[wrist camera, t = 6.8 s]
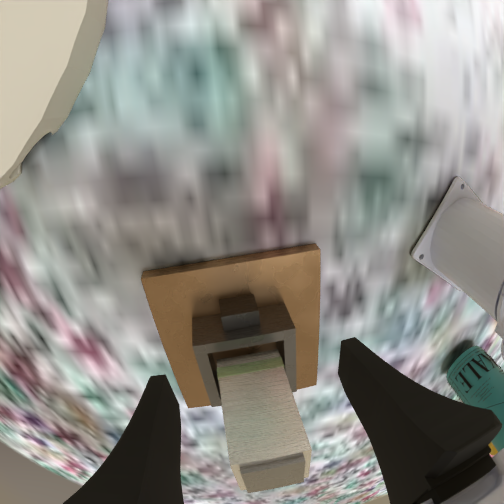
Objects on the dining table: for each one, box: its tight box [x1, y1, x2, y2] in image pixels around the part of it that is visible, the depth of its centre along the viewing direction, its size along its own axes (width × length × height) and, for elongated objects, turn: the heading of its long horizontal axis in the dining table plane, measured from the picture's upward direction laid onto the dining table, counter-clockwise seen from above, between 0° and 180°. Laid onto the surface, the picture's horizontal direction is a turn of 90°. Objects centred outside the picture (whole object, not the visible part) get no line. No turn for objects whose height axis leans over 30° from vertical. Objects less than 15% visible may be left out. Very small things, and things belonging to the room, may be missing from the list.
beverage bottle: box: [447, 346, 504, 452], centre depth 23 cm, size 6×7×20 cm
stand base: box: [141, 244, 320, 408], centre depth 22 cm, size 14×12×4 cm
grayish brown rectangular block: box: [217, 349, 312, 493], centre depth 17 cm, size 4×4×8 cm
